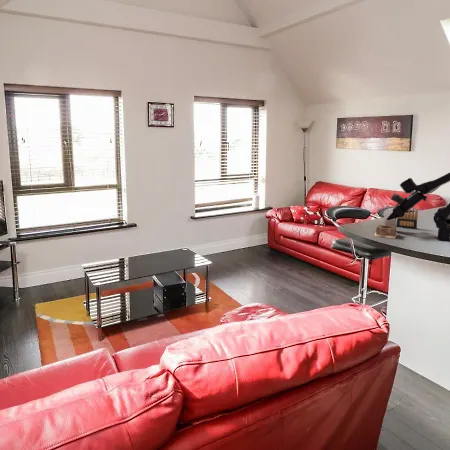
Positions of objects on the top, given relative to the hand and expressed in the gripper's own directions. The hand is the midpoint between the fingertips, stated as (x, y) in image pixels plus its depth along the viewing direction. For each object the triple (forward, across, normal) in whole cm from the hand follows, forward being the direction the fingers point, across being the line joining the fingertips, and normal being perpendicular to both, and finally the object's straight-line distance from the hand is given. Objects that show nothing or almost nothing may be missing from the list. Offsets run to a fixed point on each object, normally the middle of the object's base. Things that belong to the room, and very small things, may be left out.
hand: (387, 218), depth 233 cm
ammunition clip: (-1, -14, +11) cm, 18 cm away
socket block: (+4, +12, +6) cm, 14 cm away
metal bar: (+4, 0, +6) cm, 7 cm away
